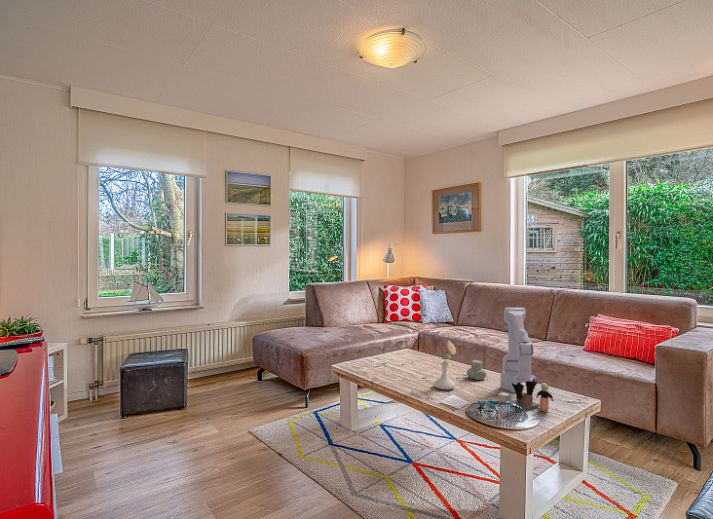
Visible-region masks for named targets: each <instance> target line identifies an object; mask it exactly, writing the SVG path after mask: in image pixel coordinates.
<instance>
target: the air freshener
mask: <svg viewBox="0 0 713 519" xmlns="http://www.w3.org/2000/svg"><path fill="white" fill-rule="evenodd" d="M470 363H471V364H470V365H471V366H470V368H468V369H467V371H466V374H467V375H466V376H468V378H470V379H472V380H474V381H481V380H484V379H485V378H486V377H487V372H486V370H485V369H484V368H483V362H482V360H479V359H477V360H476V359H473V360H471V362H470Z"/></svg>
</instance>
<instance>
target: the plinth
mask: <svg viewBox="0 0 713 519" xmlns="http://www.w3.org/2000/svg"><path fill="white" fill-rule="evenodd" d="M510 402H511V403H514V404H516V405H518V406H519V407H521V408H522V409H524V410H525V412H528V411H532V410H535V409H538V408H539V405H540V403H536V402H533V404H531V405H527V406H524V405H522V404H519V403H516V399H515V400H512V401H511V400H510ZM522 409H521V410H522ZM524 410H523V411H524Z"/></svg>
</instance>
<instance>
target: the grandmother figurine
mask: <svg viewBox="0 0 713 519" xmlns="http://www.w3.org/2000/svg"><path fill="white" fill-rule="evenodd" d="M540 388H541V390H539V391H538V392H537V394H536V396H535V398H536V399H538V398H539V408H537V411H539V412H542V411H543V412H544V413H549V407H550V406H549V399H550V401H551V402H554V401H555V400H554V396H553V395H552V394H551V393H550V392H549V391H548V390H549V389H550V387H549V385H548V384H547V383H546V382H543V383H541V384H540Z"/></svg>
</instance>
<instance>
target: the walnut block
mask: <svg viewBox="0 0 713 519" xmlns="http://www.w3.org/2000/svg"><path fill="white" fill-rule="evenodd" d="M533 396H534V395H533V394H532V395H530V394H527V392H523V391H522V399H518V398H517V397H516V399H515V400H516V403H519V404H522V405H524V406H527V405H531V404H533V403H534V401H533Z"/></svg>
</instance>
